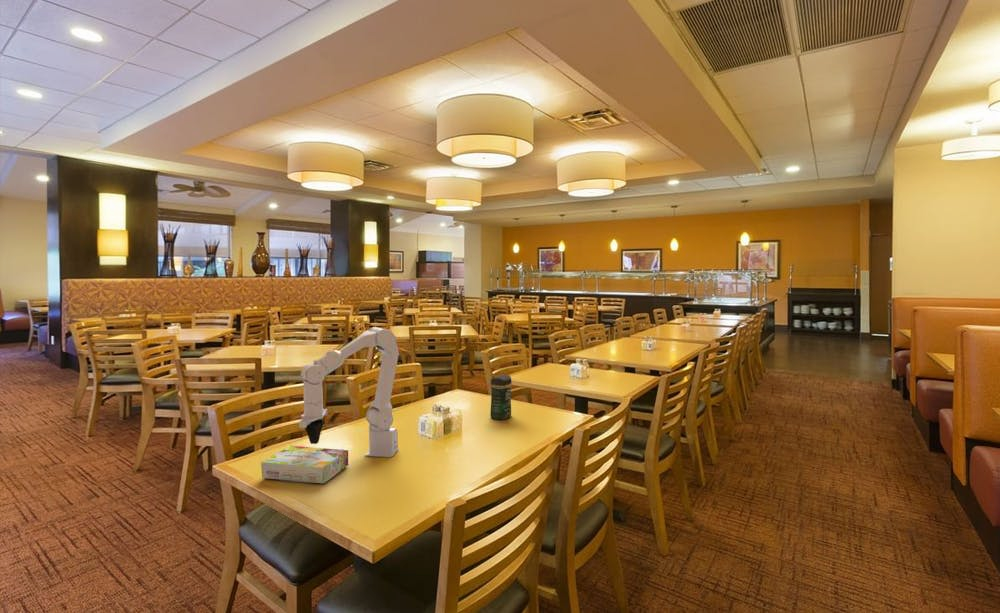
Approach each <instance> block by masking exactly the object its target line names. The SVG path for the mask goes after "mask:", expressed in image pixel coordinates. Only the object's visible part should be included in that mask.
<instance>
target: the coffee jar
mask: <svg viewBox="0 0 1000 613" xmlns="http://www.w3.org/2000/svg"><path fill="white" fill-rule="evenodd" d="M512 385H513V384H512V376H510V375H508V374H500V375H497V376H493V377H492V378H491V379H490V388H491V393H490V394H491V395H490V396H491V399H490V412H489V413H490V414H489V416H490V418H492V419H493V420H497V419H498V420H505V419H508V418H510V417H512V401H511V400H512V398H511V397H512V396H511V393H512V392H511V391H512Z"/></svg>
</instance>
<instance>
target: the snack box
mask: <svg viewBox="0 0 1000 613" xmlns="http://www.w3.org/2000/svg"><path fill="white" fill-rule="evenodd" d="M260 465H261V467H260V468H261V478H262V479H269V480H270V479H271V480H279V481H280V480H291V481H302V482H301V483H305V482H313V483H312V484H325V483H327V482H328V481H329V480H330V479H332V478H333V477H335V476H336V475H337V474H338V473H340V472H341V471H342V470H343V469H345V468H346V467H347V466H349V450H347V449H338V448H337V449H336V448H323V447H314V446H313V447H312V446H301V445H290V446H287V447H286V448H284V449H283V450H281V451H278V452H277V453H275V454H274V455H272V456H270V457H269V458H266V459H264V460H262V461H261V462H260Z"/></svg>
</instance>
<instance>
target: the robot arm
mask: <svg viewBox="0 0 1000 613" xmlns="http://www.w3.org/2000/svg"><path fill="white" fill-rule="evenodd" d="M396 339H397V336H396V335H395V334H394V332H393V331H392V330H390V329H388V328H381V327H378V326H373V327H371V328H369V329H368V330H365V331H363V332H362V333H361V334H360V335H359V336H357V337H356V338H354V339H353V340H352V341H350V342H349V343H347V344H346V345H345V346H343V347H341V348H340V349H339V350H336V349H332V350H327V351H326V352H325V355H323V356H321V357H320V358H318V359H314V360H312V362H313V363H308V364H305V365H304V366H303V367H302V369H301V372H300V374H299V375H300V377H301V379H302V382H303V414H301V415H300V418H301V420H299V422H298V423H299V424H298V428H300V429H305V432H306V434H307V437H308V440H309V443H310V444H311V445H317V444H318V443H319V441H320V437H321V433H322V429H323V427H324V425H325V423H326V419H325V418H324V417H325V416H327V415H328V408H324V397H323V396H324V395H323V394H324V393H323V392H324V391H323V381H324V379H325V378H326V376H327V375H329V374H331V373H332V372H334V371H335V370H336V369H338V368H340V367H341V366H342V365H344V362H345V360H346V359H347V358H349V357H350V356H352V355H353V354H355V353H357V352H359V351H361V350H362V349H364V348H366V347H368V348H369V347H370V348H371V347H374V348H376V349H377V350H378V351H379V352H380V353H381V355H382V357H381V362H380V369H379V373H378V379H377V384H376V389H375V394H374V400H372V401H371V402H370V407H369V409H368V410H367V412H366V414H365V419H366V421H367V422H368V424H369V426H368V437H369V438H368V442H369V444H368V445H369V450H368V452H366V453H365V457H377V458H378V457H380V458H382V457H384V458H391V457H393V456H394V455H395V454H396V453H397V452H398V451H399V447H398V446H399V441H398V437H399V436H398V429H397V428H394V427H392V425H393V422H394V416H393V406H392V404H391V398H392V393H393V387H394V383H395V376H396V371H397V366H398V359H399V354H400V353H399V352H400V350H399V347H398V344H397V340H396ZM323 418H324V419H323Z"/></svg>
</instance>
